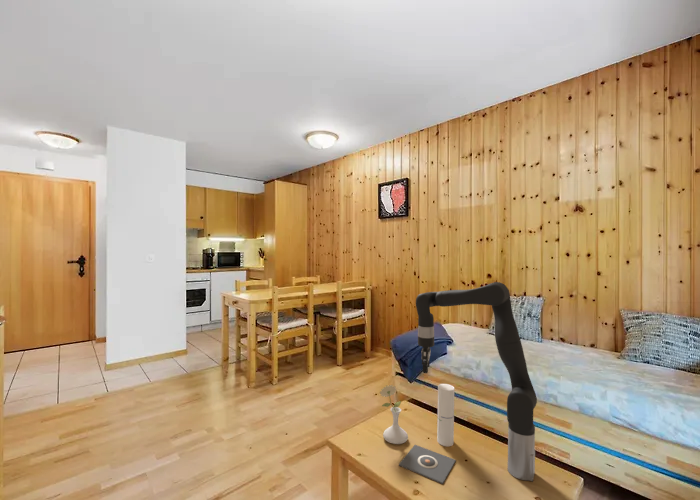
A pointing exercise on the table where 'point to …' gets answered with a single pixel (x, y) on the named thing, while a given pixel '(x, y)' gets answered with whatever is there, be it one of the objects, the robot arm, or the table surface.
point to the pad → (428, 463)
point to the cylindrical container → (445, 415)
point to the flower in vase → (395, 431)
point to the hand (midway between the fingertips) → (426, 369)
